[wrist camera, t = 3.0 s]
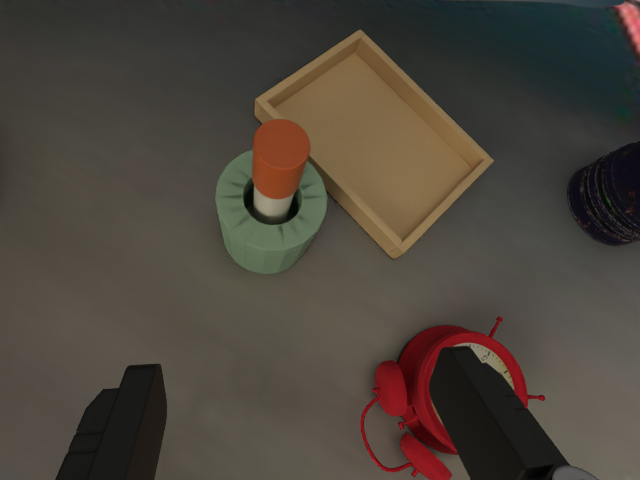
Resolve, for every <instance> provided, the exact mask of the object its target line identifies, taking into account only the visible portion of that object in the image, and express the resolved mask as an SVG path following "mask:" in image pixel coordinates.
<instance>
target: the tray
mask: <svg viewBox="0 0 640 480" xmlns="http://www.w3.org/2000/svg"><path fill="white" fill-rule="evenodd" d="M255 117H256V118H257V119H258V120H259V121H260V122H261V123H262V124H264V123H266V122H268V121H270V120H274V119H285V120H289V121H292V122H294V123H296V124H298V125H299V126H300V127H302V128H303V130H304V131H305V132H306V134H307V135H308V137H309V140H310V147H311V148H310V153H309V157H308V160H307V161H308V162H309V163H310V164H312V166H314V168H315V169H316V171H317V172H318V174H319V175H320V176H321V178H322V179H323V182H324V186H325V189H326V190H327V191H328V193H329V194H330V195H331V196H332V197H333V198H334V199H335V200H336V201H337V202H338V203H339V204H340V205H341V206H342V207H343V208H344V209H345V210H346V211H347V212H348V213H349V214H350V215H351V216H352V217H353V218H354V220H355V221H356V222H357V223H358V224H359V225H360V226H361V227H362V228H363V229H364V230H365V231H366V232H367V233H368V234H369V235H370V236H371V237H372V238H373V239H374V240H375V241H376V242H377V243H378V244H379V245H380V247H381V248H382V249H383V250H384V251H385V252H386V253H387V254H388V255H389V256H390V257H391V258H392V259H395V258H397V257H399V256H400V255H402V254H404V253H405V252H406V251H407V250H408V249H409V248H410V247H411V246H412V245H413V244H414V243H415V242H416V241H417V240H418V239H419V238H420V237H421V236H422V235H423V233H424V232H425V231H426V230H427V229H428V228H429V227H430V226H431V225H432V224H433V223H434V222H435V221H436V220H437V219H438V218H439V217H440V216H441V215H442V214H443V213H444V212H445V211H446V210H447V209H448V208H449V207H450V206H451V205H452V204H453V203H454V202H455V201H456V200H457V199H458V197H459V196H460V195H461V194H462V193H463V192H464V191H465V190H466V189H467V188H468V187H469V186H470V185H471V184H472V183H473V182H474V181H475V180H476V179H477V178H478V177H479V176H480V175H481V174H482V173H483V172H484V171H485V170H486V169H487V168H488V167H489V166H490V165H491V164H492V163H493V161H494V160H493V159H492V158H491V157H490V156H488V154H487V153H486V152H485V151H484V150H483V149H482V148H481V147H480V146H479V145H478V144H477V143H476V142H475V141H474V140H473V139H472V138H471V137H470V136H469V135H468V134H467V133H466V132H465V131H464V130H462V129H461V128H460V127H459V126H458V125H457V124H456V123H455V122H454V121H453V120H452V119H451V118H450V117H449V116H448V115H447V114H446V113H445V112H444V111H443V110H442V109H441V108H440V107H439V106H438V105H437V104H436V103H435V102H434V101H433V100H432V99H431V98H430V97H429V96H428V95H427V94H426V93H425V92H424V91H423V90H422V89H421V88H420V87H419V86H418V85H417V84H416V83H415V82H414V81H413V80H412V79H411V78H410V77H409V76H408V75H407V74H405V73H404V72H403V71H402V70H401V69H400V68H399V67H398V66H397V65H396V64H395V63H394V62H393V61H392V60H391V59H390V58H389V57H388V56H387V55H386V54H385V53H384V52H383V51H382V50H381V49H380V48H379V47H378V46H377V45H376V44H375V43H374V42H373V41H372V40H371V39H370V38H369V37H368V36H367V35H366V34H365V33H364V32H363V31H362V30H358V31H357V32H355V33H354V34H352V35H351V36H349V37H348V38H346V39H345V40H343V41H342V42H340V43H339V44H337V45H336V46H334V47H333V48H331V49H330V50H328V51H327V52H325V53H324V54H322V55H321V56H319V57H318V58H316V59H315V60H313V61H312V62H310V63H309V64H307V65H306V66H304V67H303V68H301V69H300V70H298V71H297V72H295V73H294V74H292V75H291V76H289V77H288V78H286V79H285V80H283V81H282V82H280V83H279V84H277V85H276V86H274V87H273V88H271V89H270V90H268V91H267V92H265V93H264V94H262V95H261V96H259V97H258V98H256V99H255Z"/></svg>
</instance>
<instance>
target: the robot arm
mask: <svg viewBox="0 0 640 480" xmlns="http://www.w3.org/2000/svg"><path fill="white" fill-rule="evenodd" d="M429 393H430V397H431V400H432V403H433V405H434V407H435V409H436V411H437V413H438V415H439V417H440V419H441V421H442V423H443V425H444V427H445V429H446V431H447V433H448V435H449V437H450V439H451V441H452V443H453V445H454V447H455V449H456V451H457V453H458V455H459V457H460V459H461V461H462V463H463V465H464V467H465V469H466V471H467V473H468V475H469V477H470V479H471V480H599V479H597V478H596V477H595V476H593V475H592V474H590V473H589V472H587V471H585V470H583V469H580V468H578V467H574V466H571V465H570V464H569V463H568V462H567V461H566V459H565V458H564V457H563V455H562V454H561V453H560V451H559V450H558V449H557V447H556V446H555V445H554V443H553V442H552V441H551V439H550V438H549V437H548V435H547V434H546V433H545V431H544V430H543V429H542V427H541V426H540V425H539V423H538V422H537V421H536V419H535V418H534V417H533V415H532V414H531V413H530V411H529V410H528V409H526V408H525V405H524V403H523V402H522V401H521V399H520V398H519V397H518V395H515V391H514V390H513V389H512V387H511V386H510V384H509V383H508V382H507V380H506V379H505V378H504V376H503V375H501V374H500V373H499V372H498V371H496V370H495V369H494V368H493V367H492V366H490V365H489V364H488V363H482V362H481V361H480V359H479V358H478V357H477V355H476V354H475V352H474V351H473V350H472V349H471V348H470V347H469V346H453V347H443V348H442V349H441V350H440V352H439V355H438V358H437V361H436V364H435V366H434V369H433V372H432V375H431V378H430V381H429ZM166 417H167V400H166V393H165V387H164V381H163V374H162V368H161V365H160V364H145V365H130V366H128V367H127V368H126V370H125V373H124V376H123V378H122V381H121V384H120V387H119V388H114V389H103V390H102V391H101V392H100V393H99V395H98V396H97V397H96V398H95V399H94V400H93V401H92V402H91V403H90V405H89V406H88V407H87V408H86V410H85V412H84V414H83V416H82V419H81V421H80V423H79V426H78V428H77V430H76V431H77V432H76V435H74V437H73V440H72V442H71V444H70V447H69V449H68V454H66V456H65V458H64V461H63V463H62V465H61V468H60V470H59V472H58V475H57V477H56V479H55V480H154V478H155V473H156V468H157V463H158V459H159V454H160V449H161V444H162V439H163V435H164V430H165V425H166Z"/></svg>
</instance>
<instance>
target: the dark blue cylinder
mask: <svg viewBox="0 0 640 480" xmlns="http://www.w3.org/2000/svg"><path fill="white" fill-rule="evenodd" d="M567 194H568V202H569V206H570V209H571V212H572V214H573V216H574V218H575V220H576V221H577V223H578V224H579V225H580V227H581V228H582V229H583V230H584V231H585V232H586V233H587V234H588V235H590V236H591V237H592V238H594V239H595V240H597V241H599V242H601V243H604V244H607V245H611V246H620V245H625V244H628V243H631V242H634V241H640V141H638V142H637V143H631V144H627V145H626V146H624V147H621V148H619V149H618V150H616V151H613V152H610V153H609V154H607V155H605V156H603V157H601V158H599V159H598V160H597V161H595V162H594V163H592V164H590V165H589V166H586V167H584V168H582V169H581V170H579V171H577V172H576V173H575V174H574V175H573V176H572V178H571V180H570V182H569V185H568V193H567Z"/></svg>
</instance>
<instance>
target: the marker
mask: <svg viewBox="0 0 640 480" xmlns="http://www.w3.org/2000/svg"><path fill="white" fill-rule="evenodd" d="M310 148H311V147H310V140H309V137H308V135H307V134H306V132H305V131H304V130H303V128H302V127H300V126H299V125H298V124H296V123H294V122H292V121H289V120H285V119H274V120H270V121H268V122H266V123H264V124H263V125H261V126H260V127H259V128H258V130H257V131H256V133H255V135H254V140H253V166H252V180H253V183H254V201H253V218H255V219H256V220H257V221H259V222H261V223H264V224H267V225H280V224H283V223H285V221H286V218H287V214H288V211H289V208H290V205H291V202H292V198H293V195H294V193H295V191H296V190H297V189H298V187H299V184H300V181H301V178H302V175H303V172H304V169H305V166H306V163H307V160H308V157H309V153H310Z"/></svg>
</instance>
